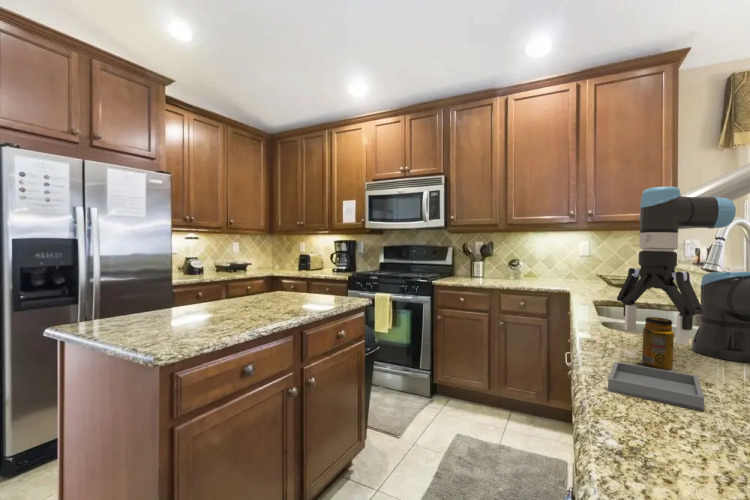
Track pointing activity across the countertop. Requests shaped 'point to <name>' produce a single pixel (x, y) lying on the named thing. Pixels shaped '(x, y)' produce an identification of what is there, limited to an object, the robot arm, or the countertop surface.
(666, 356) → the condiment
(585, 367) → the countertop surface
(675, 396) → the tray
